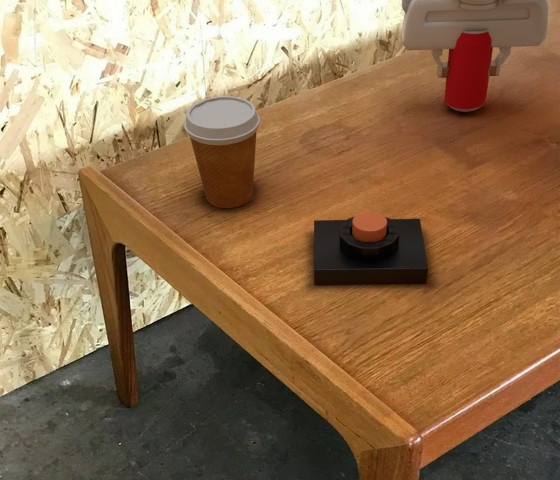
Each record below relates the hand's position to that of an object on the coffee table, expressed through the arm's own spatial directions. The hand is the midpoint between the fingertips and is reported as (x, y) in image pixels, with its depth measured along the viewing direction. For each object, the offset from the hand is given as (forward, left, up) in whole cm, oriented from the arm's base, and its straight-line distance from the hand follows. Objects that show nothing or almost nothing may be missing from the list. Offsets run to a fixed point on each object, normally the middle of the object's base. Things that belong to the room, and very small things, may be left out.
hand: (467, 75), depth 118 cm
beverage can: (0, 0, -5) cm, 5 cm away
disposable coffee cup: (+34, +23, -5) cm, 42 cm away
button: (+16, +38, -2) cm, 41 cm away
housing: (+16, +38, -5) cm, 42 cm away
